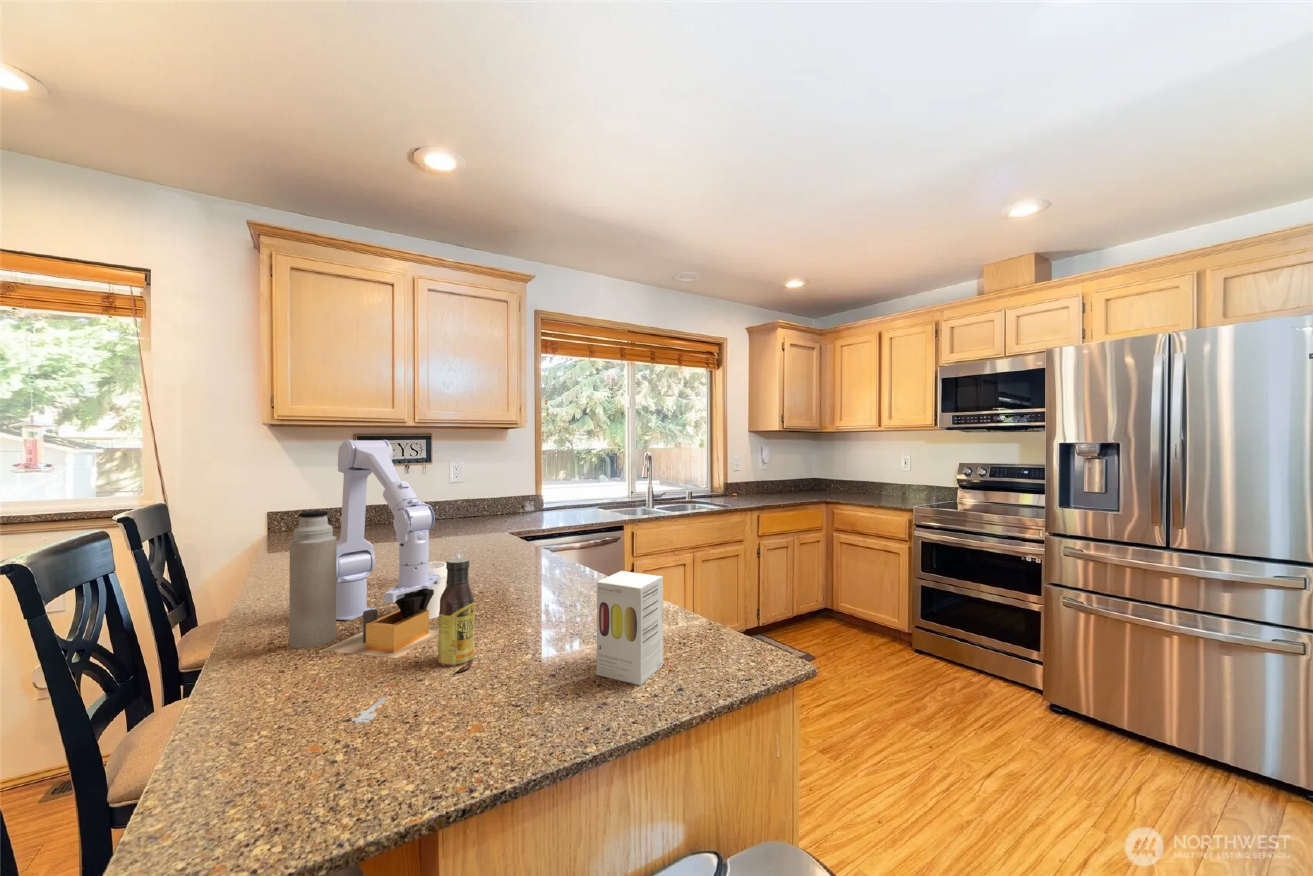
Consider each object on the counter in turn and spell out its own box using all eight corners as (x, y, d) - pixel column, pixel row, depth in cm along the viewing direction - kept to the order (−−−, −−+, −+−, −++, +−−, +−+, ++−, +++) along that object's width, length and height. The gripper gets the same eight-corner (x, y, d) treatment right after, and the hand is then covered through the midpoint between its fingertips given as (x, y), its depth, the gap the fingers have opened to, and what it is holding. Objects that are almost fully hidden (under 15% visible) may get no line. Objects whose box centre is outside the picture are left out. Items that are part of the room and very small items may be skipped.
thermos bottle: (310, 639, 107) (310, 508, 108) (345, 640, 107) (345, 509, 107) (279, 655, 100) (279, 513, 100) (316, 656, 99) (316, 514, 99)
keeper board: (322, 657, 98) (322, 619, 98) (377, 631, 112) (377, 598, 112) (396, 666, 94) (396, 625, 94) (444, 638, 108) (444, 603, 108)
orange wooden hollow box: (402, 631, 108) (402, 607, 108) (429, 633, 106) (429, 610, 107) (365, 649, 98) (365, 624, 98) (394, 652, 97) (394, 626, 97)
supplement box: (594, 675, 90) (594, 581, 90) (620, 656, 98) (620, 569, 98) (642, 686, 86) (641, 587, 86) (664, 665, 94) (664, 574, 94)
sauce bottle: (461, 676, 90) (461, 565, 90) (430, 673, 91) (430, 563, 91) (481, 661, 96) (481, 557, 96) (452, 658, 97) (452, 556, 98)
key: (411, 687, 87) (392, 686, 87) (411, 681, 87) (392, 680, 87) (366, 726, 75) (345, 726, 75) (366, 720, 75) (345, 719, 75)
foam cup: (456, 619, 120) (456, 564, 120) (419, 631, 112) (420, 573, 112) (431, 612, 125) (431, 560, 125) (395, 623, 117) (395, 567, 117)
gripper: (405, 571, 99) (405, 641, 99) (452, 556, 113) (452, 616, 113) (375, 570, 101) (375, 638, 100) (425, 554, 115) (425, 614, 114)
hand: (414, 626), depth 107 cm, fingers closed
